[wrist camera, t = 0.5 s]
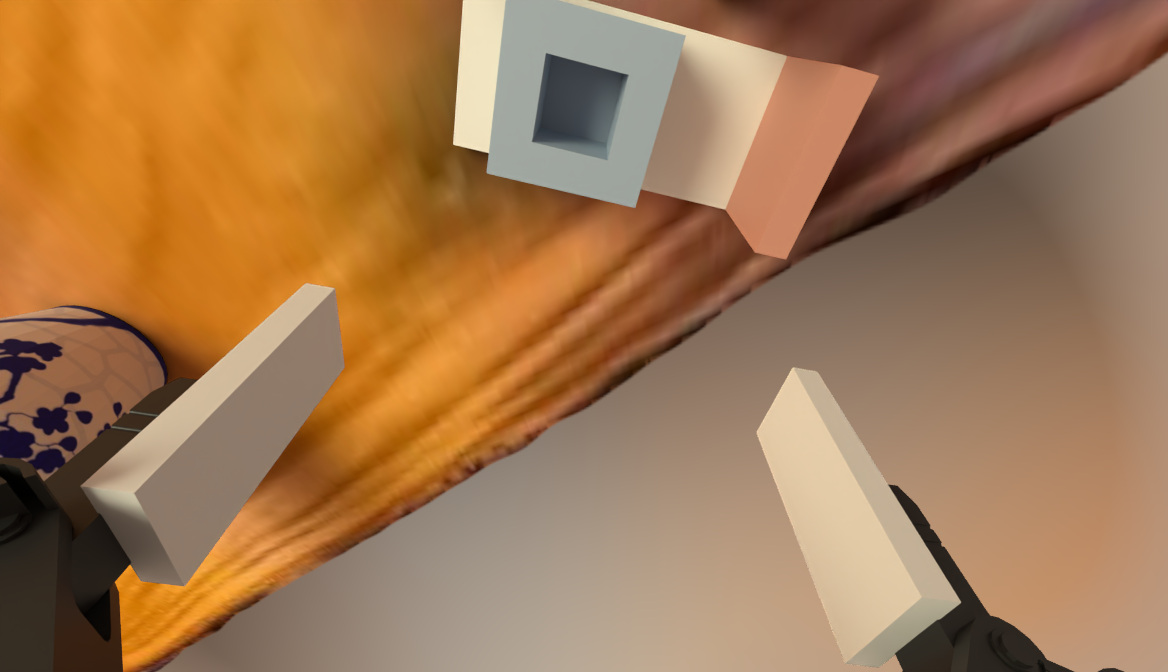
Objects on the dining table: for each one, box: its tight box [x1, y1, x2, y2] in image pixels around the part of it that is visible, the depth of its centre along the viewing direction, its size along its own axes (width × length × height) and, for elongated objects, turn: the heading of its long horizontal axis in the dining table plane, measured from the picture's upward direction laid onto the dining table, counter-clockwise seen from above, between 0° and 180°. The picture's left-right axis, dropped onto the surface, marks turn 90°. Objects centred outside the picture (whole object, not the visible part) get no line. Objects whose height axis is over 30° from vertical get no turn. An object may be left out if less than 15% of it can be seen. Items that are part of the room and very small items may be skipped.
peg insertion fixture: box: [453, 0, 879, 259], centre depth 28 cm, size 10×22×9 cm, turn 77°
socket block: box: [487, 0, 686, 208], centre depth 28 cm, size 9×9×6 cm
